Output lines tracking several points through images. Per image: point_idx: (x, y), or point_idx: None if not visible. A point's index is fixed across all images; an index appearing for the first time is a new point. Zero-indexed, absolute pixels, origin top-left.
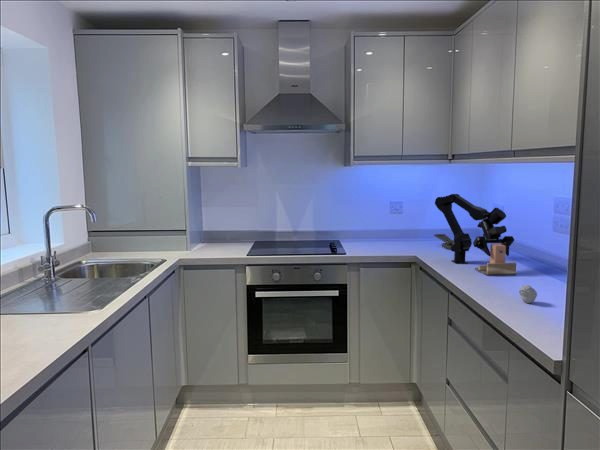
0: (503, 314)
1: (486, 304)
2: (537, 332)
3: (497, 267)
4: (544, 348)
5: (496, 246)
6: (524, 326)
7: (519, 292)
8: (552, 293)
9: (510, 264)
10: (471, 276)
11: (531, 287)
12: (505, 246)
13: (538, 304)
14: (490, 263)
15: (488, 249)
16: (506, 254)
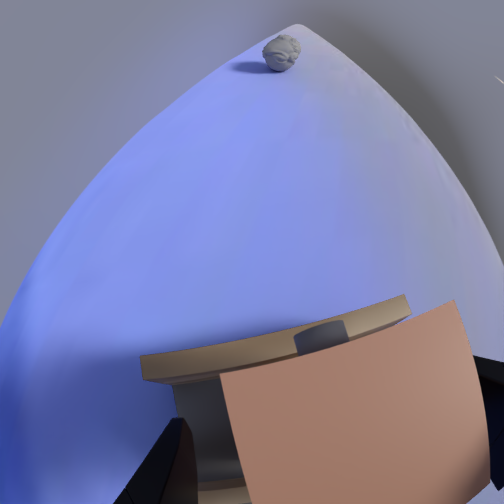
0: (332, 52)
1: (359, 71)
2: (299, 33)
3: None
4: (302, 26)
5: (440, 307)
6: (310, 38)
7: (299, 52)
8: (176, 113)
9: (199, 350)
10: (438, 294)
11: (276, 38)
12: (231, 374)
13: (260, 66)
14: (388, 304)
15: (481, 369)
16: (194, 457)
